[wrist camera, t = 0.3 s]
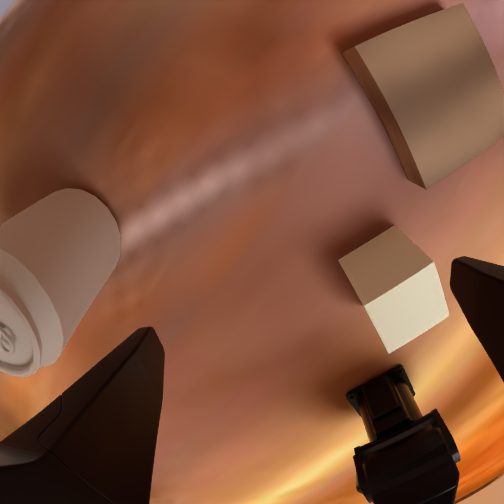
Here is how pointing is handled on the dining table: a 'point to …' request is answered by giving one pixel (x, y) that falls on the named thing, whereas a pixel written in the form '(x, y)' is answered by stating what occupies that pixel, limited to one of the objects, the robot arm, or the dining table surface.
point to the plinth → (432, 92)
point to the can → (51, 275)
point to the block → (396, 287)
